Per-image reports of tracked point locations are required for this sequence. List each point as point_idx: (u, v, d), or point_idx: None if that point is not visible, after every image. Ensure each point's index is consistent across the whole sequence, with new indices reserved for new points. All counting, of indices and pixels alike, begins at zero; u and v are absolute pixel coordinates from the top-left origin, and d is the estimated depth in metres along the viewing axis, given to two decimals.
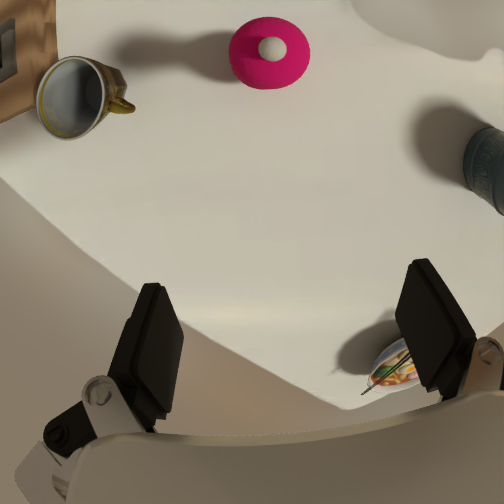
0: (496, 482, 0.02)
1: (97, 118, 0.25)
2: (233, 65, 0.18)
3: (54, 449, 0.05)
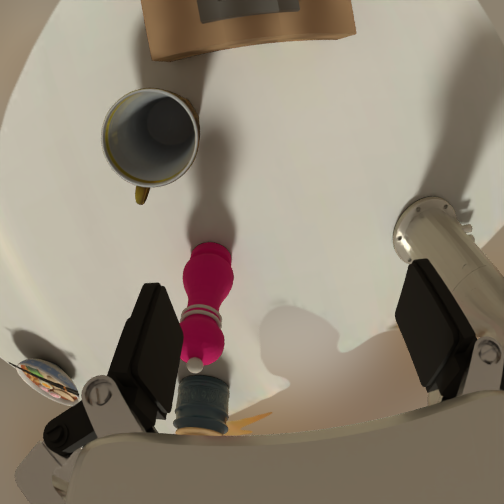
0: (496, 482, 0.02)
1: (127, 180, 0.27)
2: None
3: (54, 449, 0.05)
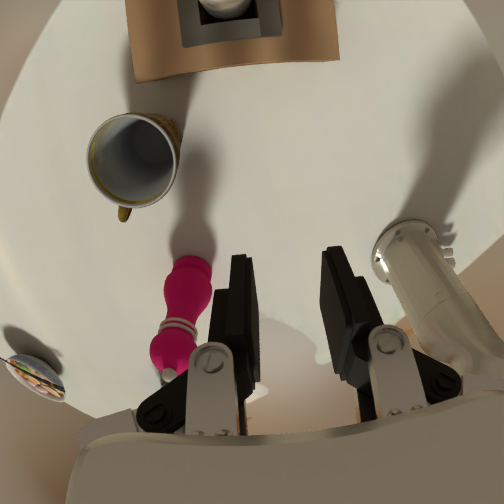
0: (496, 482, 0.02)
1: (110, 200, 0.28)
2: (158, 345, 0.31)
3: (154, 431, 0.06)
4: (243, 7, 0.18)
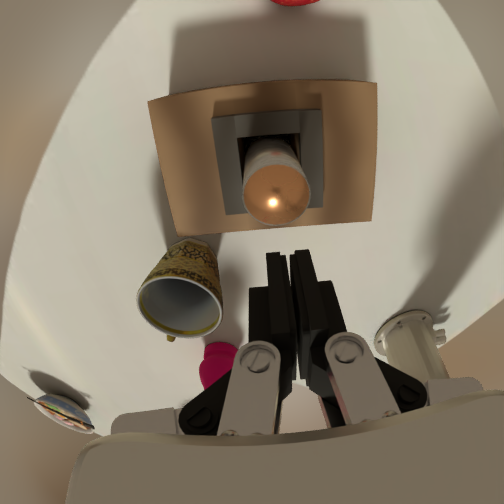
0: (496, 482, 0.02)
1: (161, 331, 0.34)
2: None
3: None
4: None
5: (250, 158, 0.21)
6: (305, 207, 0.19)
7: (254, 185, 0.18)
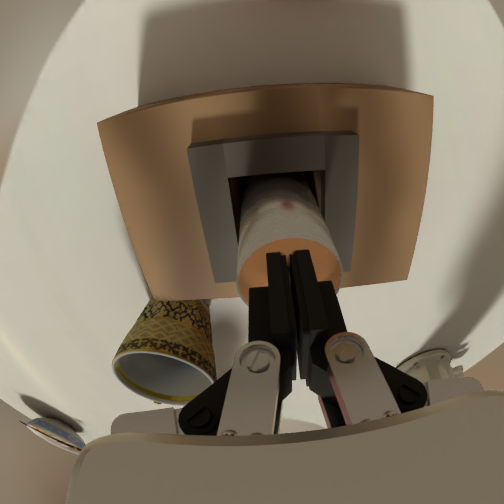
0: (496, 482, 0.02)
1: (145, 397, 0.26)
2: None
3: None
4: None
5: (249, 209, 0.14)
6: None
7: (255, 268, 0.11)
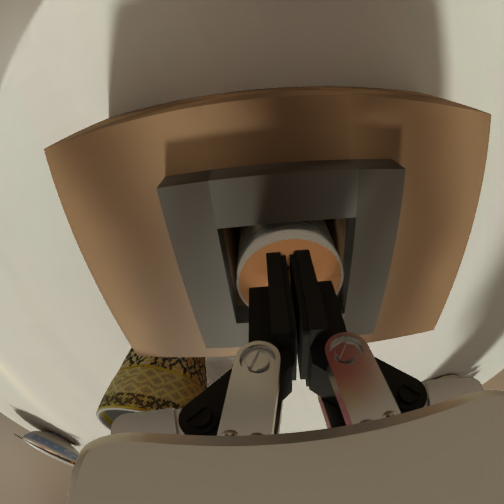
0: (496, 482, 0.02)
1: None
2: None
3: None
4: None
5: None
6: None
7: (255, 269, 0.11)
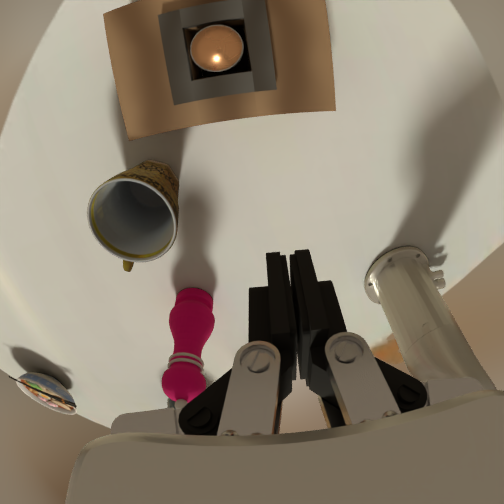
0: (496, 482, 0.02)
1: (114, 255, 0.30)
2: (169, 380, 0.33)
3: None
4: (236, 64, 0.25)
5: None
6: (240, 55, 0.20)
7: (199, 41, 0.19)
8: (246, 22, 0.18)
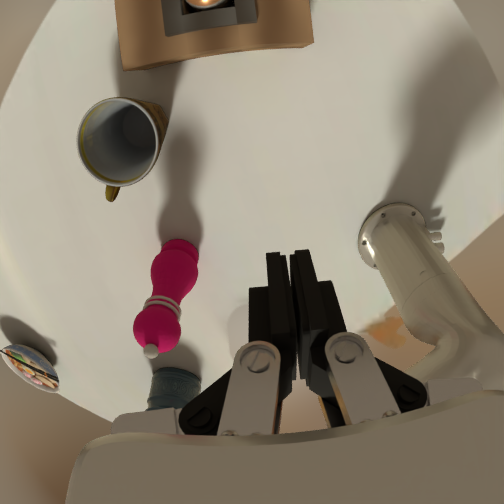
0: (496, 482, 0.02)
1: (97, 179, 0.29)
2: (140, 321, 0.31)
3: None
4: None
5: None
6: None
7: None
8: None
